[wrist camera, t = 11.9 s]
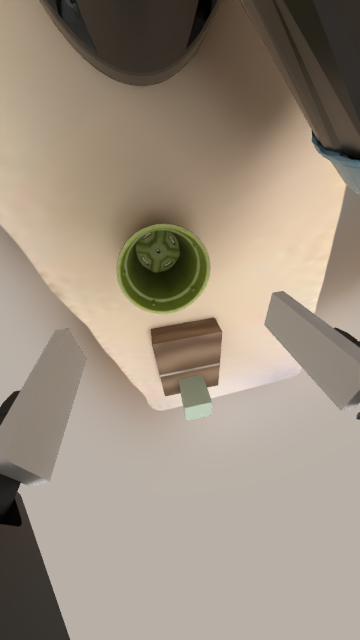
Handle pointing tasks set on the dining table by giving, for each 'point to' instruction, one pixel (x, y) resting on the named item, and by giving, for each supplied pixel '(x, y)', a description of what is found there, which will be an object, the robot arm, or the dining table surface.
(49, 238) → the dining table surface
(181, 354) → the walnut board
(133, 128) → the dining table surface
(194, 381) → the sage block
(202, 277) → the plant pot
